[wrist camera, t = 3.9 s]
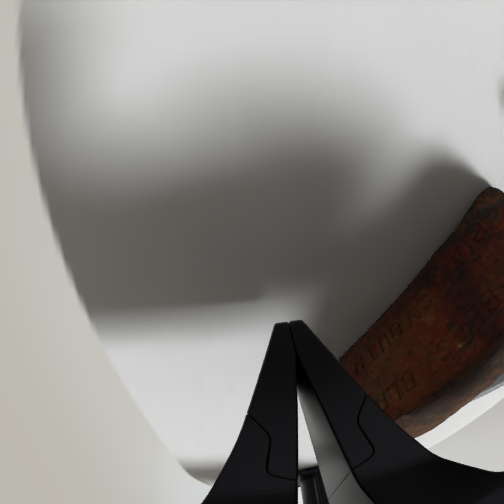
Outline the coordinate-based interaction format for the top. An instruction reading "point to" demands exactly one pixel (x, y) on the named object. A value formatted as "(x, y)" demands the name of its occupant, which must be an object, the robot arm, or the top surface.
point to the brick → (441, 328)
